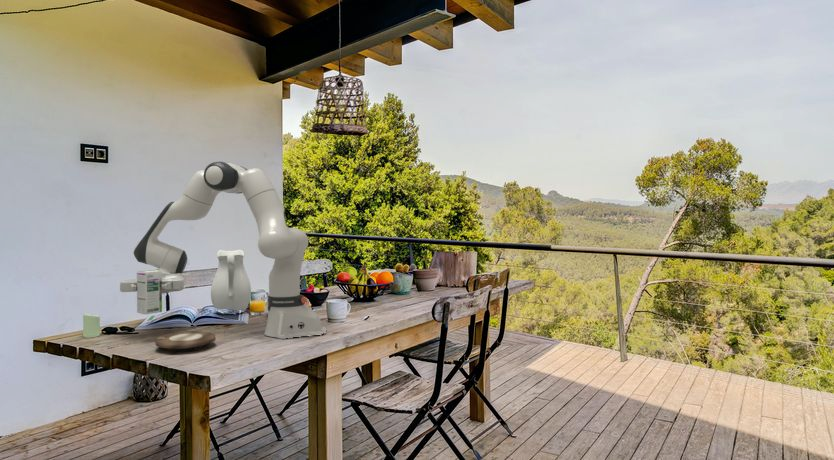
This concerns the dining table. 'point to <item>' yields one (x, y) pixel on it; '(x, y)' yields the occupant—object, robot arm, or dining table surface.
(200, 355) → the dining table surface
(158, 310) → the syrup box
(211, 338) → the brown plate
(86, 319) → the candle
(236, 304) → the pitcher
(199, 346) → the turntable base
